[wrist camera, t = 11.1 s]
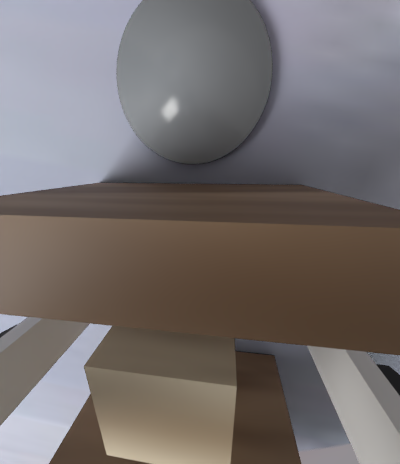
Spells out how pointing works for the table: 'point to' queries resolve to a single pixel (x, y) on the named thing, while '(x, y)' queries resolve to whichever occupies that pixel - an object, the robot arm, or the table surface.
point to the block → (164, 395)
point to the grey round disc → (194, 76)
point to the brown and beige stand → (207, 281)
